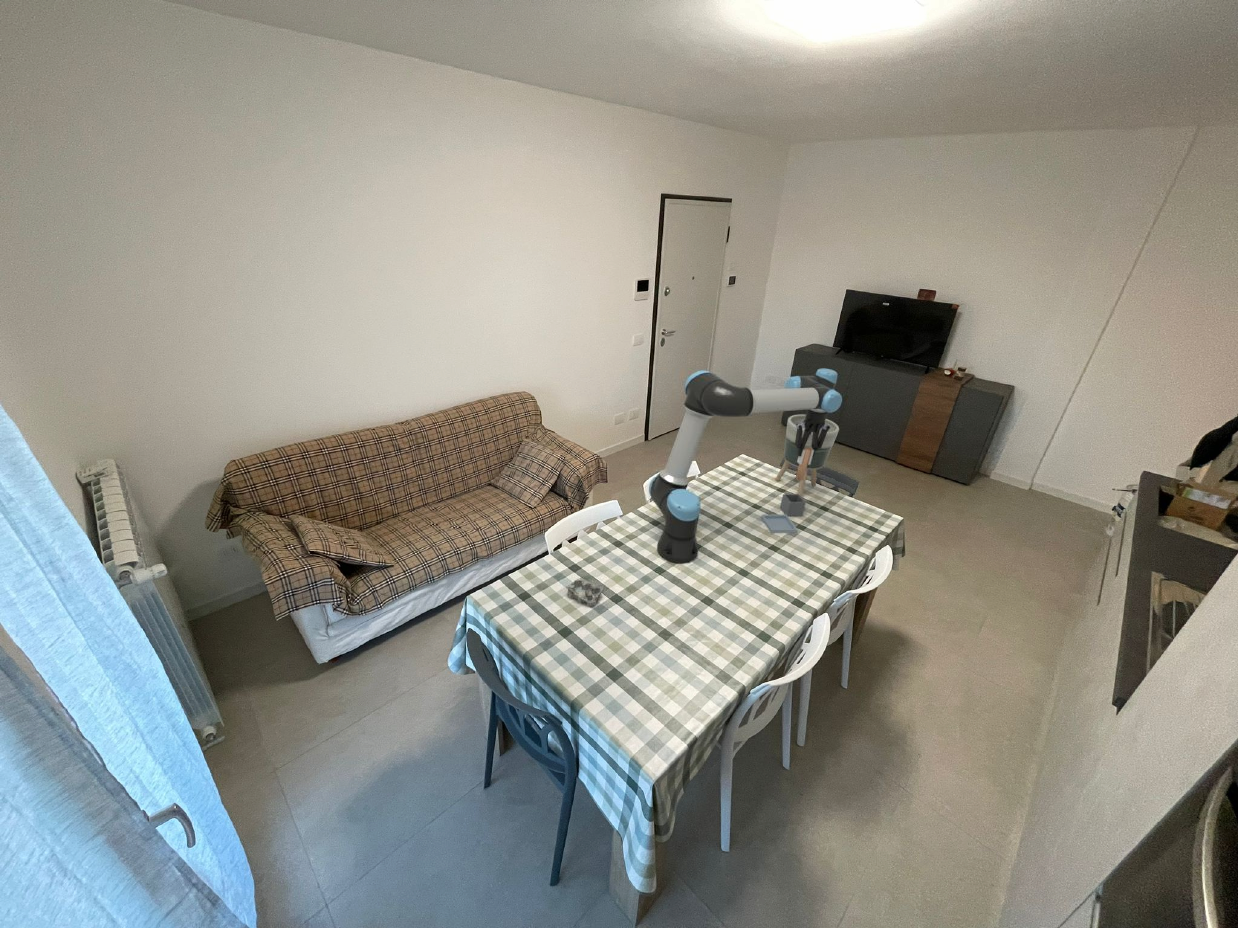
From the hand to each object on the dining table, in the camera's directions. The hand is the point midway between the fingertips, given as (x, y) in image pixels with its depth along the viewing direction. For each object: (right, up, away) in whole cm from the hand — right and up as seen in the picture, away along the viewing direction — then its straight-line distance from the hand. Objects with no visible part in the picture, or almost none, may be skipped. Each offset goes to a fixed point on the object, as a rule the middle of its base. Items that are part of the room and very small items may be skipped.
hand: (803, 462), depth 202 cm
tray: (-10, -26, +2) cm, 28 cm away
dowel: (0, -7, +3) cm, 7 cm away
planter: (+8, -12, +32) cm, 35 cm away
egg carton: (-87, -43, -42) cm, 105 cm away
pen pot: (-1, -22, +11) cm, 24 cm away
